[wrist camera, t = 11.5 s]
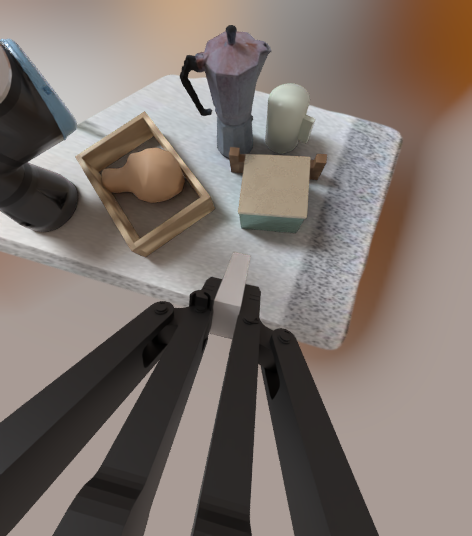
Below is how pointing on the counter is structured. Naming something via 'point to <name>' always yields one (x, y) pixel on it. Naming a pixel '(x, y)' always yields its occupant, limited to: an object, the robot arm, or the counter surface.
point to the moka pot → (229, 84)
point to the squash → (147, 176)
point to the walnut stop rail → (239, 160)
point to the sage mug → (288, 118)
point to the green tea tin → (274, 192)
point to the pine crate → (92, 165)
